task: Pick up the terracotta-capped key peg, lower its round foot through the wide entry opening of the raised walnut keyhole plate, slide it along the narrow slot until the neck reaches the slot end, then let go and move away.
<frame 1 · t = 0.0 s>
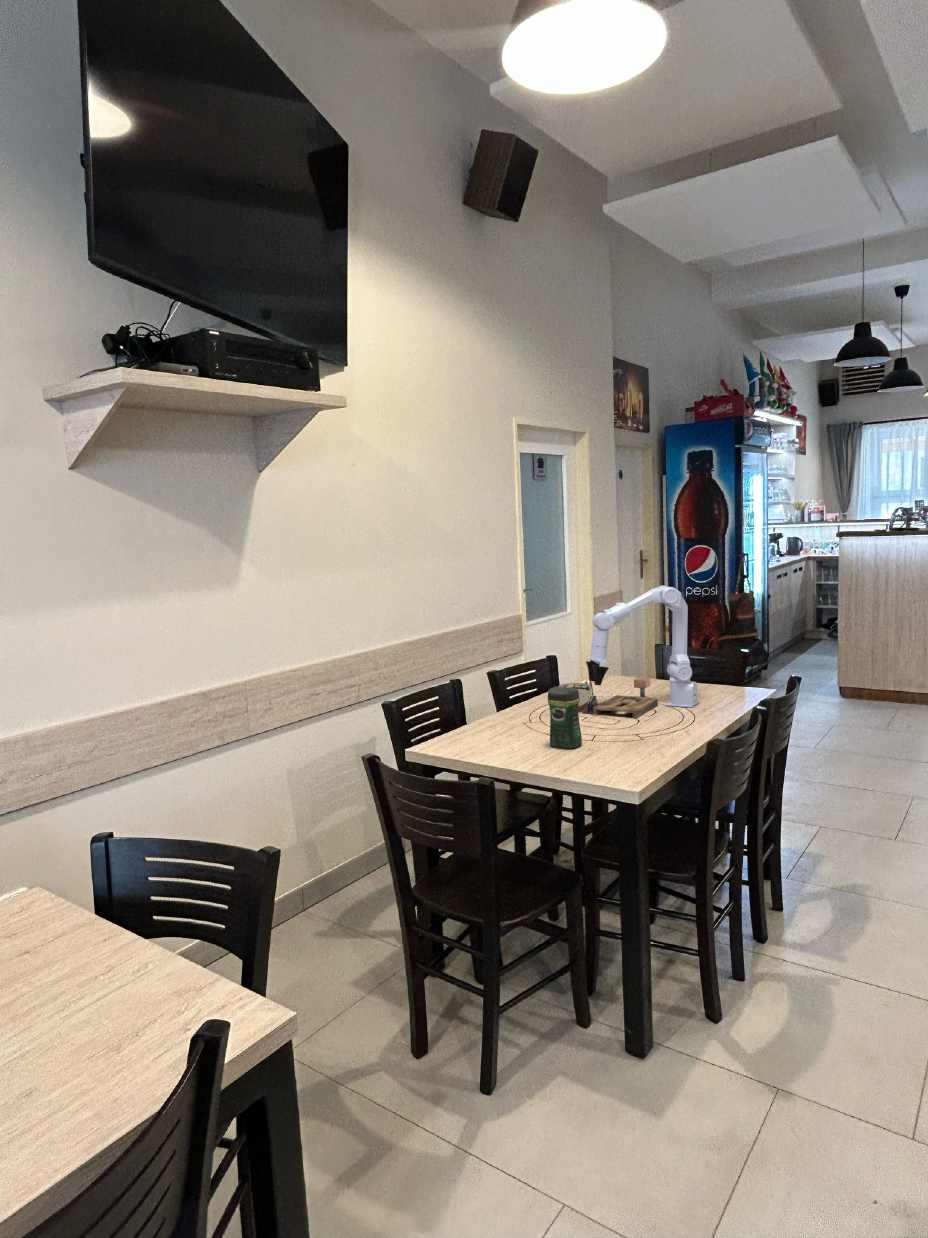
hand: (594, 683, 287), 11 cm above the table, tool pointing down, fingers open, 7 cm apart
food container: (574, 711, 291), on the table
keyhole plate: (625, 710, 287), on the table
coffee jar: (566, 746, 247), on the table
key peg: (642, 701, 300), on the table
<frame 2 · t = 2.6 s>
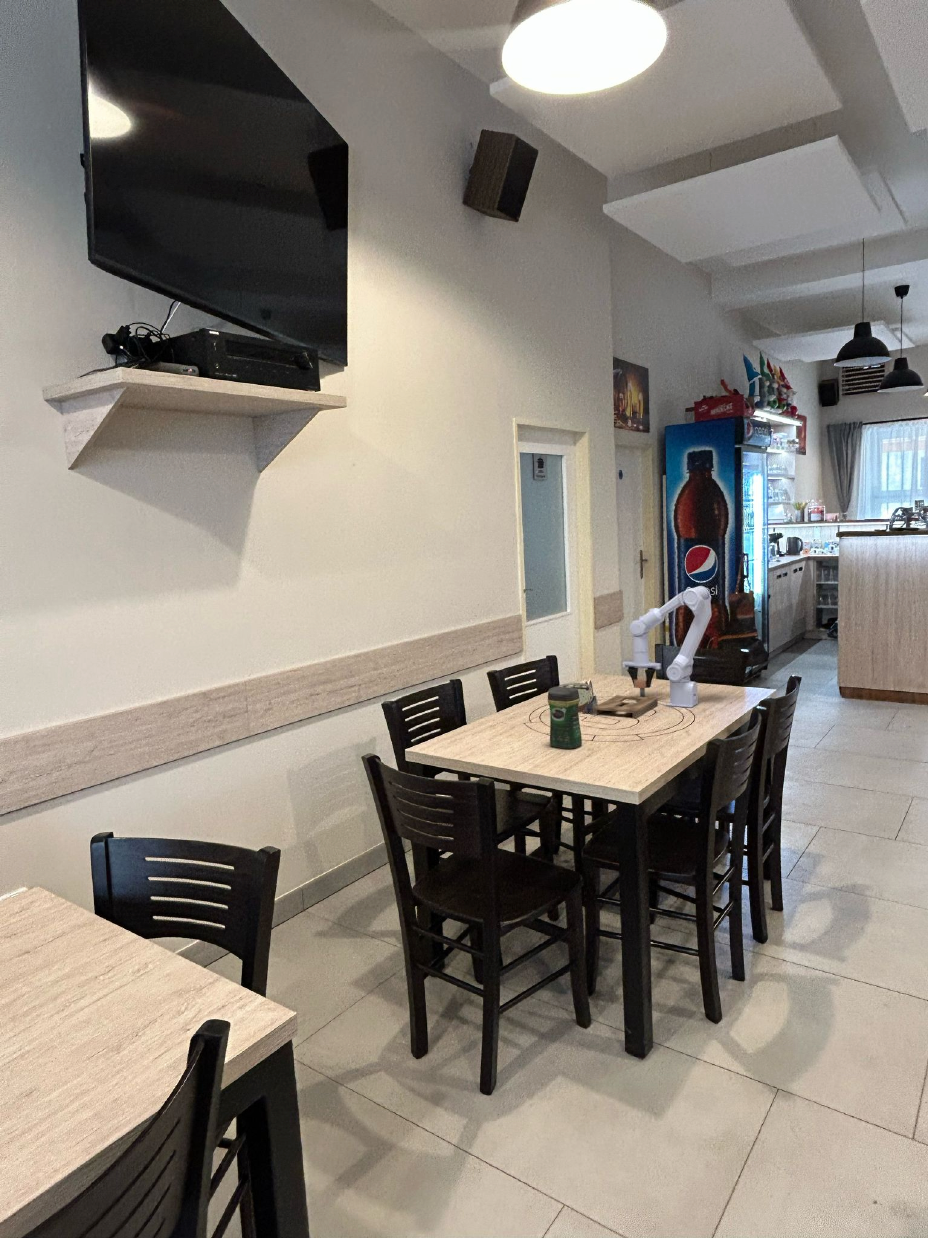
hand: (642, 687, 300), 5 cm above the table, tool pointing down, fingers closed on key peg, 5 cm apart
key peg: (642, 701, 300), on the table, touching gripper
everything else where it was.
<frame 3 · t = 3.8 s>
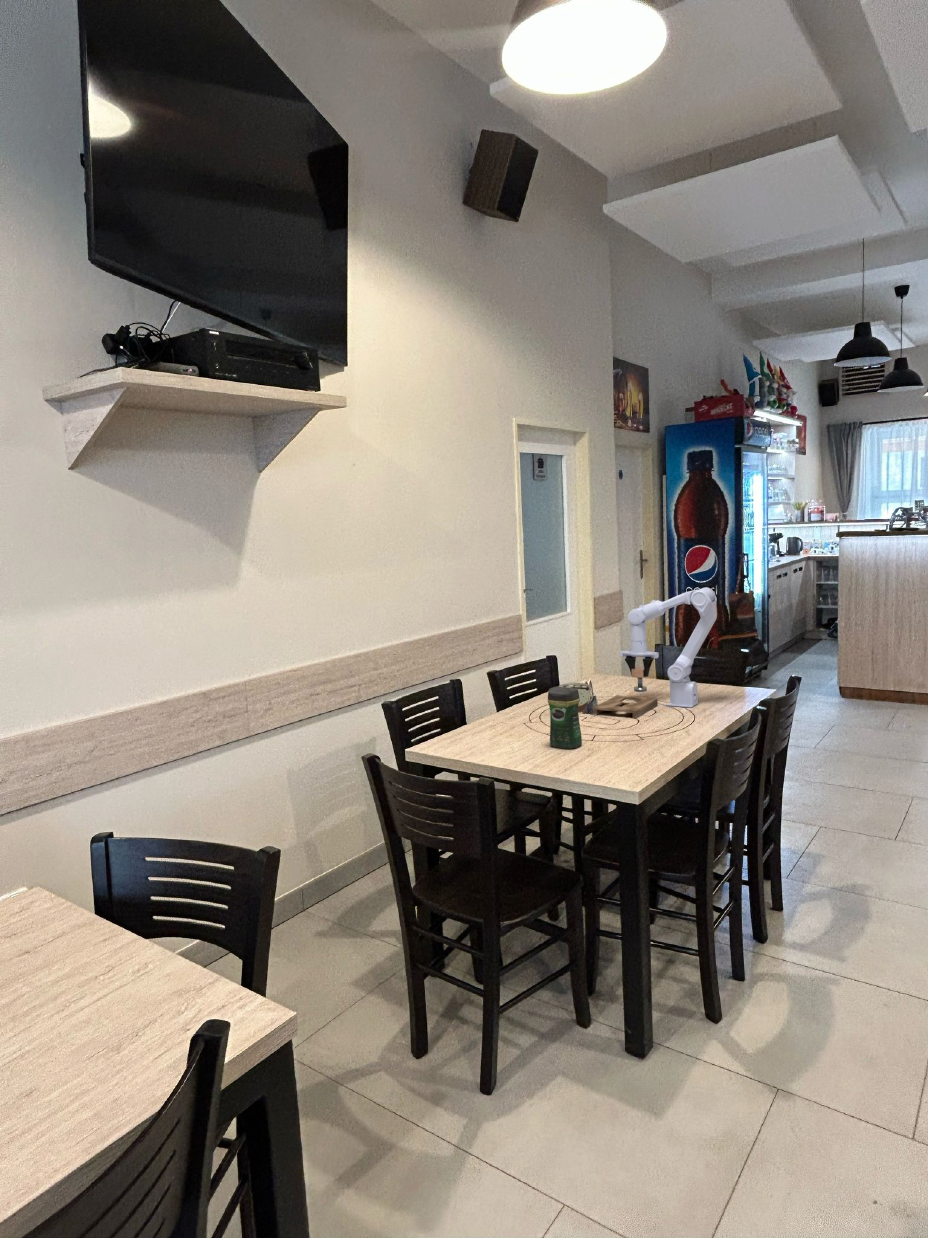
hand: (639, 676, 298), 10 cm above the table, tool pointing down, fingers closed on key peg, 5 cm apart
key peg: (640, 690, 299), point 4 cm above the table, touching gripper
everything else where it was.
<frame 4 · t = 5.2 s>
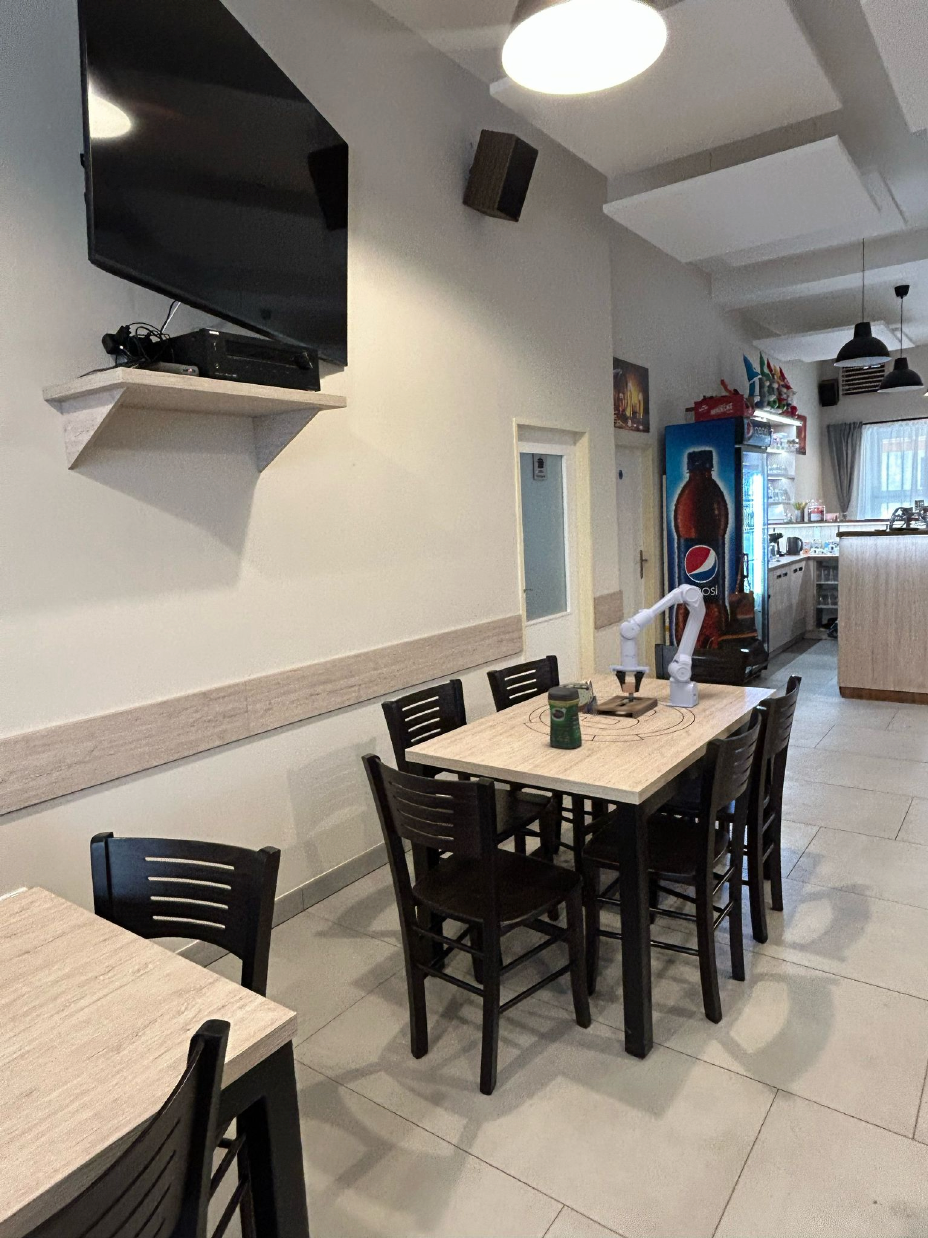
hand: (630, 691, 291), 6 cm above the table, tool pointing down, fingers closed on key peg, 5 cm apart
key peg: (631, 706, 292), on the table, touching gripper
everything else where it was.
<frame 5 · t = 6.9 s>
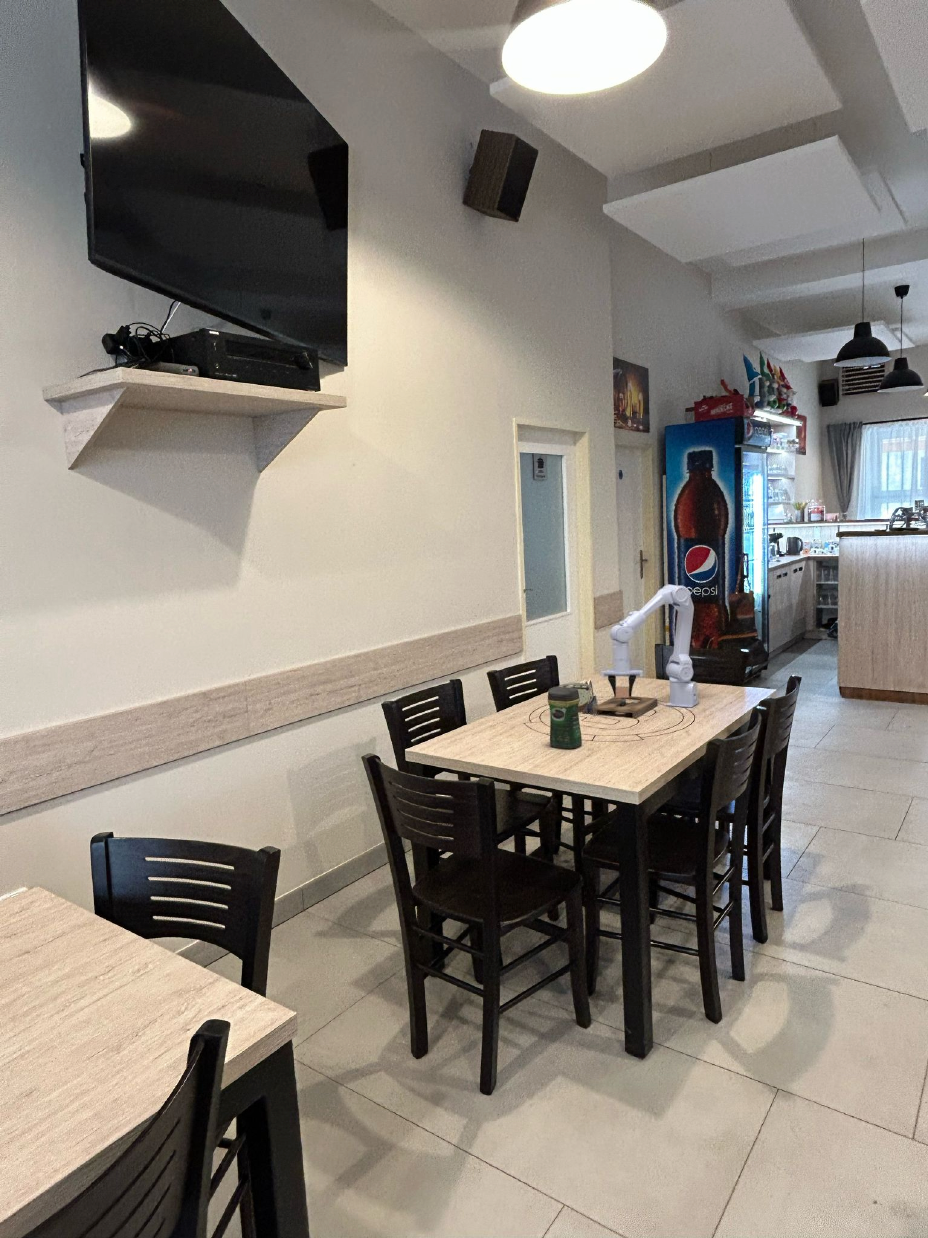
hand: (622, 696, 285), 6 cm above the table, tool pointing down, fingers closed on key peg, 5 cm apart
key peg: (623, 711, 286), on the table, touching gripper
everything else where it was.
when the fingers open (6 cm above the table, at t = 8.0 s): key peg stays where it is, on the table.
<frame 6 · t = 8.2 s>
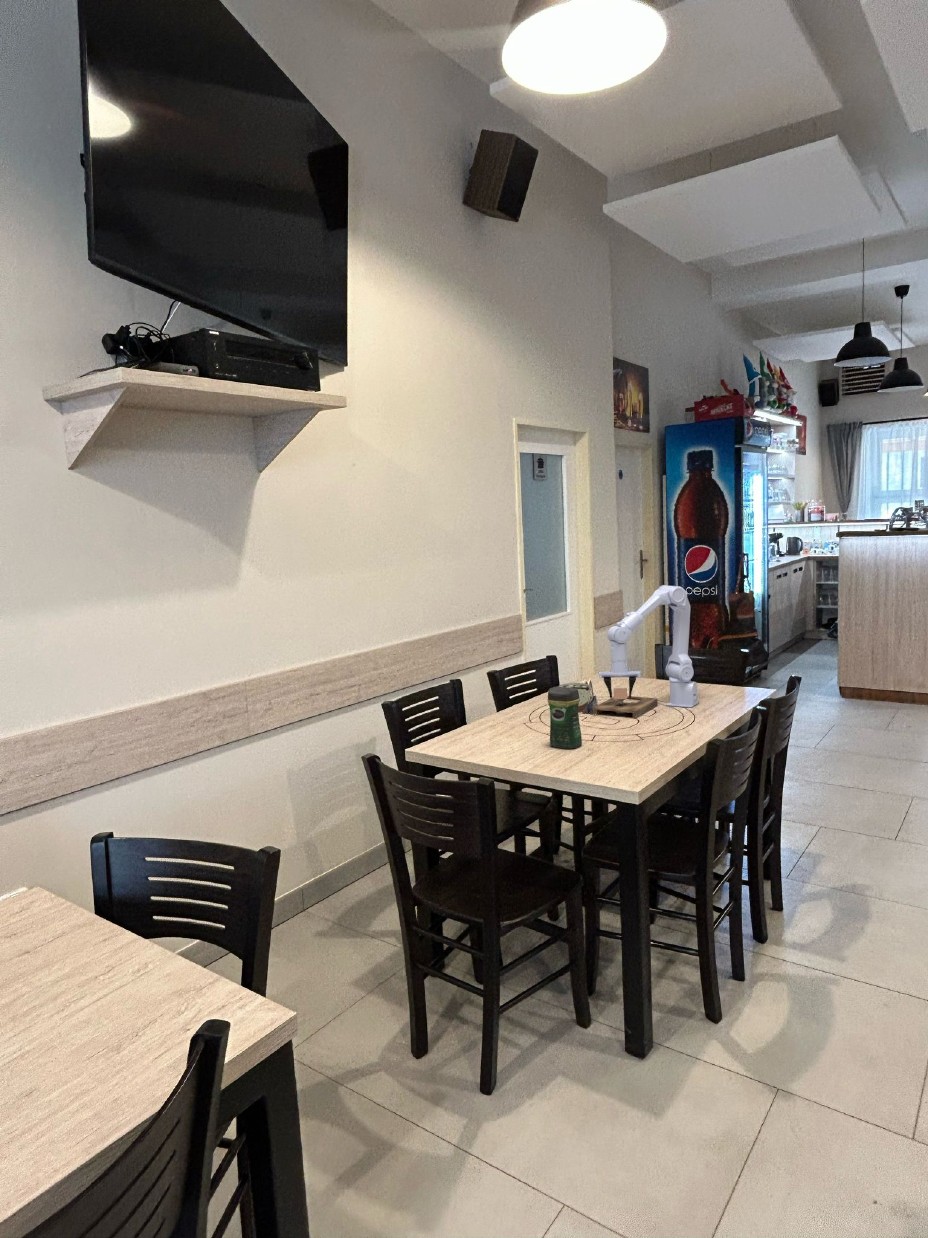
hand: (620, 697, 283), 6 cm above the table, tool pointing down, fingers open, 6 cm apart
key peg: (621, 712, 284), on the table
everything else where it was.
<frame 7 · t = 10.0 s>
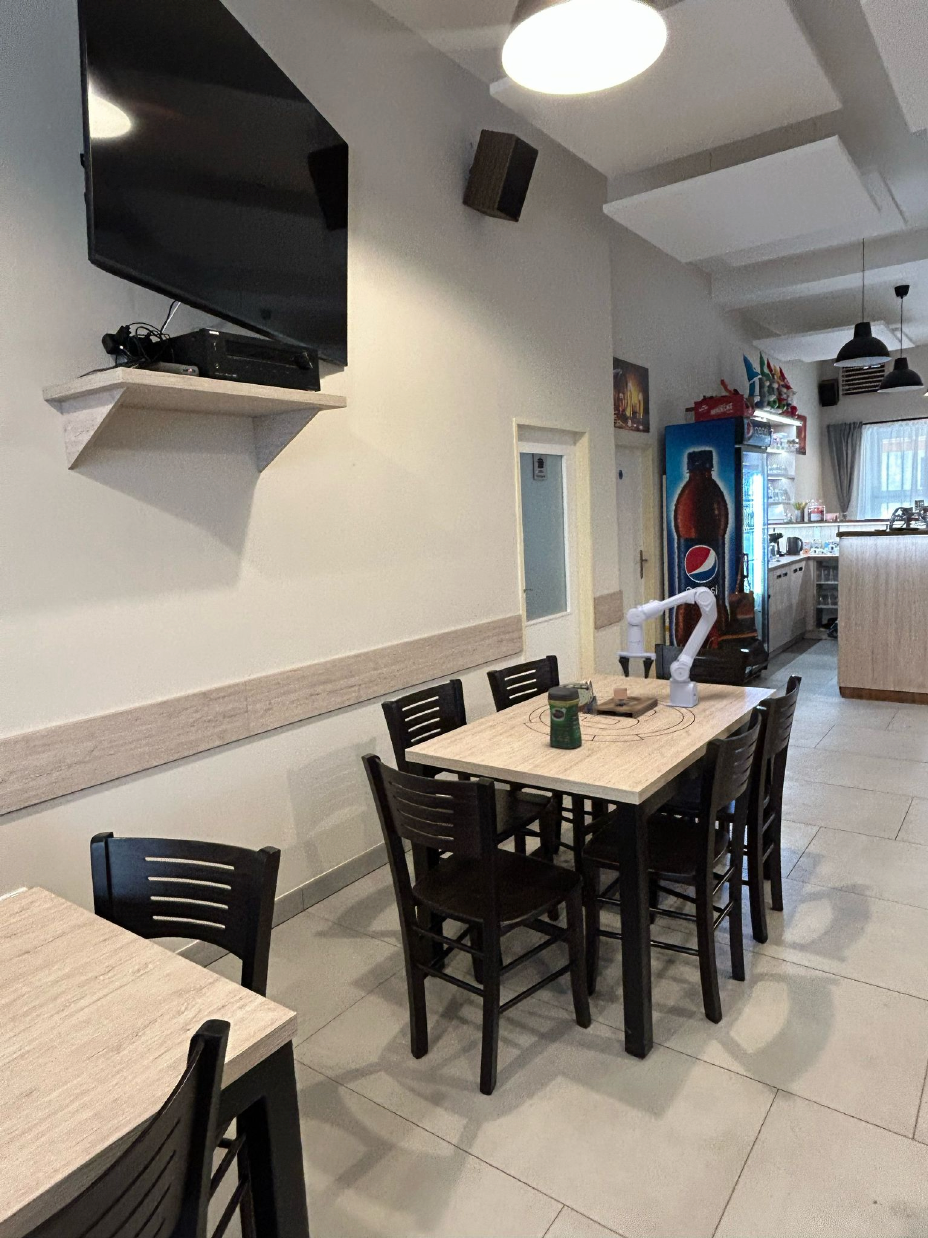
hand: (636, 677, 293), 10 cm above the table, tool pointing down, fingers open, 7 cm apart
nothing on the table moved.
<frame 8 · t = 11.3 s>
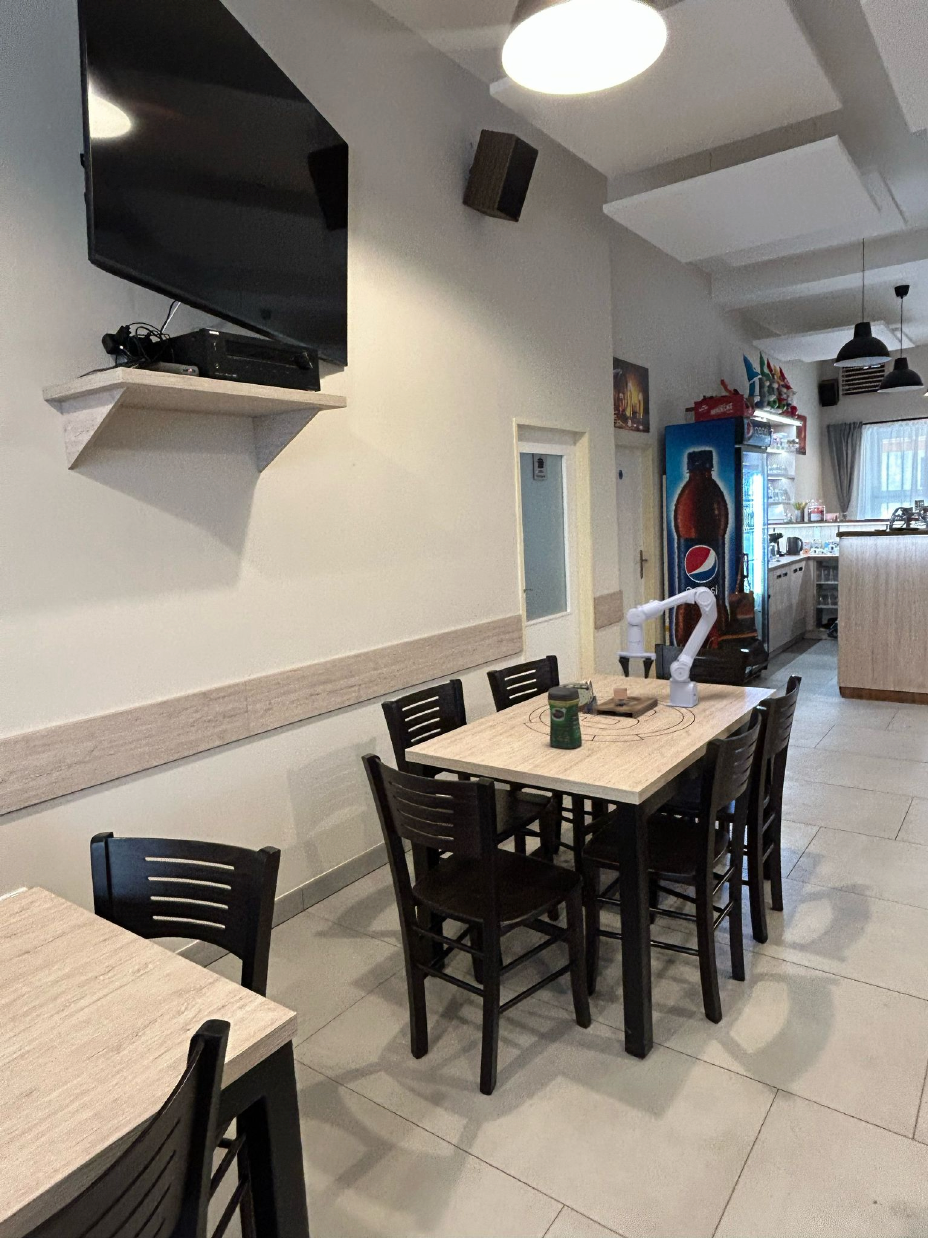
hand: (636, 677, 293), 10 cm above the table, tool pointing down, fingers open, 7 cm apart
nothing on the table moved.
at the end: key peg 0.4 cm from the target spot, on the table; key peg tilted 0°; the gripper is holding nothing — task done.
